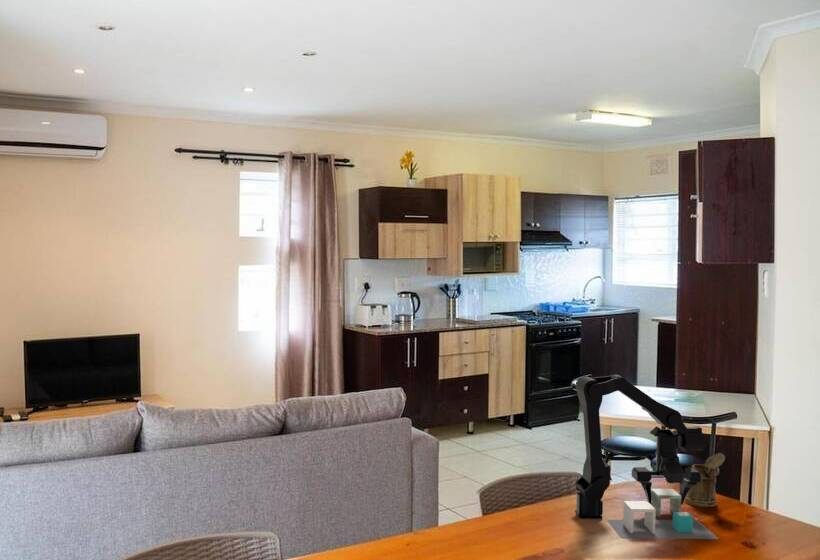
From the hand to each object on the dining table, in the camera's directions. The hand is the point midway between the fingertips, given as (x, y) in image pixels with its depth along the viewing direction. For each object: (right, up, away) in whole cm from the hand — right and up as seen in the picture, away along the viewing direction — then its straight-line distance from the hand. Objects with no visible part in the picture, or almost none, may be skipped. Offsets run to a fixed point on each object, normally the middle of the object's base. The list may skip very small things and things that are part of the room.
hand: (665, 504), depth 220 cm
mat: (-6, -3, -13) cm, 15 cm away
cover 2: (0, -3, 0) cm, 3 cm away
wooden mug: (+15, -3, +9) cm, 17 cm away
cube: (0, -3, -13) cm, 13 cm away
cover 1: (-12, -3, -13) cm, 18 cm away
